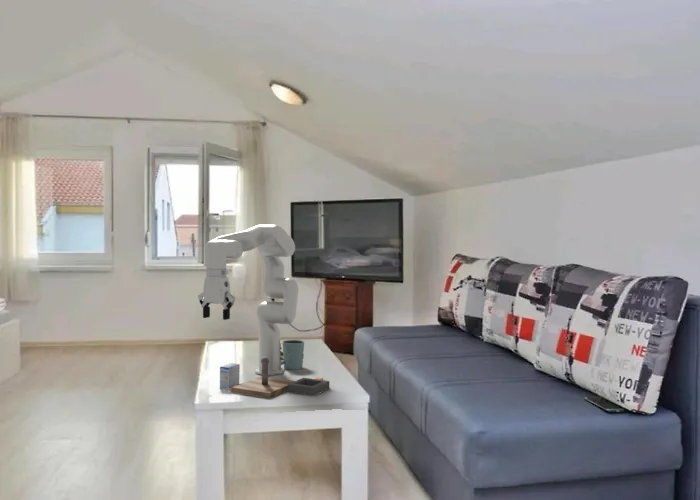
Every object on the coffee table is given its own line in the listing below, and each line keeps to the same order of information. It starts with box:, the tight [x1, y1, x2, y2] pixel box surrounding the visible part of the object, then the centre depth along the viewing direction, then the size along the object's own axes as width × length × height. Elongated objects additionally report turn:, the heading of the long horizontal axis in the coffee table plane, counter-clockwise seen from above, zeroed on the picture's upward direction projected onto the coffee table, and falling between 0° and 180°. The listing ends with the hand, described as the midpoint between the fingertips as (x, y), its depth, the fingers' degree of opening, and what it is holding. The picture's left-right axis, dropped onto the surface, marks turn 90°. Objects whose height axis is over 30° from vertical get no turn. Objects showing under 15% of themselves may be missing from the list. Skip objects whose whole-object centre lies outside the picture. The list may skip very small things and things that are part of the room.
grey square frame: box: [287, 376, 330, 396], centre depth 234 cm, size 16×12×3 cm
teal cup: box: [281, 339, 305, 370], centre depth 272 cm, size 10×10×12 cm
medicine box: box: [219, 362, 241, 390], centre depth 237 cm, size 8×4×9 cm, turn 159°
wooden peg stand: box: [230, 357, 295, 399], centre depth 233 cm, size 20×18×13 cm
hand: (216, 318), depth 223 cm, fingers open, 9 cm apart
